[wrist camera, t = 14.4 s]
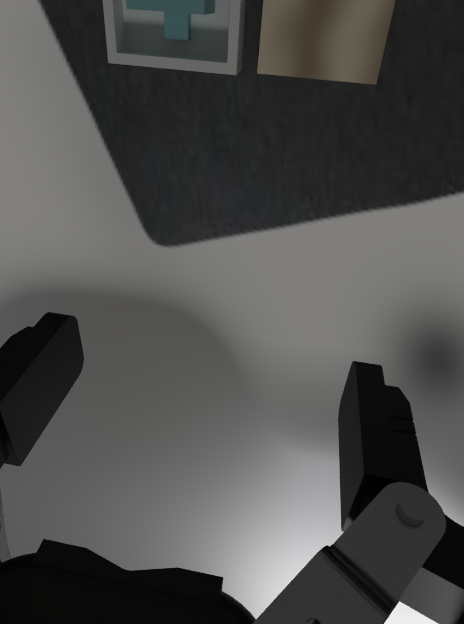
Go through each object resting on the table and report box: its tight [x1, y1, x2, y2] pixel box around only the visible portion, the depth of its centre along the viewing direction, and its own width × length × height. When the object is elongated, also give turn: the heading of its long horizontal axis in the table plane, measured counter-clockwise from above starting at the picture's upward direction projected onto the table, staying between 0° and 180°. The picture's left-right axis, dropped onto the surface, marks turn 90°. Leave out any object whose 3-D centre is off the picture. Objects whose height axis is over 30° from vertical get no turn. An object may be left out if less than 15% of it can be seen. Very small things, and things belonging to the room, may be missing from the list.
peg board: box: [257, 0, 395, 85], centre depth 34 cm, size 10×10×4 cm
